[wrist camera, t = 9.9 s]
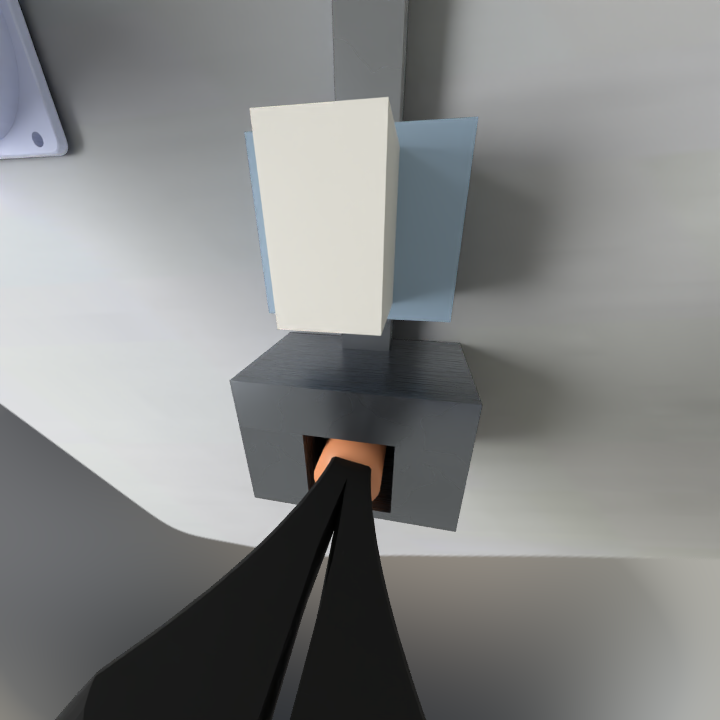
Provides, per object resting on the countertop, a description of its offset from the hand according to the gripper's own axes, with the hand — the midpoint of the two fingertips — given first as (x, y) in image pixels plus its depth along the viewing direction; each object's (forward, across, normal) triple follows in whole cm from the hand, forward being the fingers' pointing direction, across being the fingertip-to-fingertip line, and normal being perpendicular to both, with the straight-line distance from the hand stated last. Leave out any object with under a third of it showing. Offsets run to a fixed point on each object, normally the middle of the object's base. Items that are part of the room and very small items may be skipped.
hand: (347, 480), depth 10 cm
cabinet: (+5, 0, -1) cm, 5 cm away
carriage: (+5, +2, -8) cm, 10 cm away
